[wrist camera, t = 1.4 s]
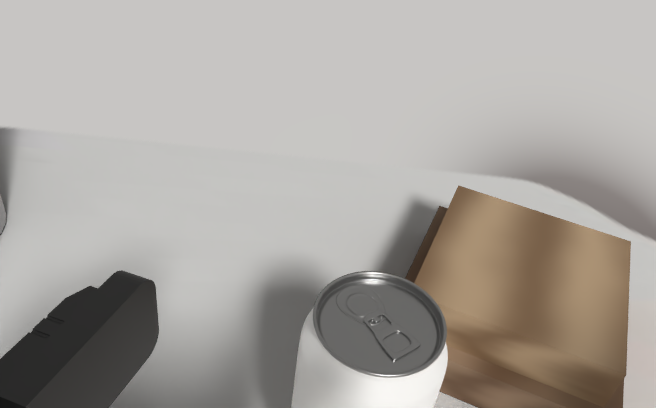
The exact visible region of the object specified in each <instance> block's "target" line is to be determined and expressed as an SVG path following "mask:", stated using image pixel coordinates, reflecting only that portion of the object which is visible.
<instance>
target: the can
mask: <svg viewBox="0 0 656 408" xmlns="http://www.w3.org/2000/svg"><path fill="white" fill-rule="evenodd" d="M446 338H447V326H446V321H445V318H444V315H443V313H442V311H441V309H440V307H439V306H438V304H437V303H436V302H435V300H434V299H433V298H432V297H431V296H430V295H429V294H428V293H427V292H426V291H424V290H423V289H422V288H421V287H419V286H418V285H416V284H414V283H413V282H411V281H409V280H407V279H405V278H402V277H399V276H397V275H393V274H389V273H384V272H377V271H362V272H355V273H351V274H347V275H344V276H342V277H339V278H337V279H336V280H334V281H332V282H331V283H330V284H328V285H327V286H326V287H325V288H324V289H323V290H322V291H321V293H320V294H319V296H318V297H317V299H316V302H315V305H314V307H313V309H312V310H311V311H310V313H309V314H308V316H307V317H306V319H305V322H304V324H303V327H302V331H301V335H300V341H299V348H298V355H297V363H296V371H295V380H294V388H293V396H292V405H291V408H433V407H434V404H435V402H436V399H437V396H438V393H439V391H440V388H441V385H442V382H443V379H444V376H445V373H446V368H447V362H448V351H447V345H446Z"/></svg>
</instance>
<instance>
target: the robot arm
mask: <svg viewBox="0 0 656 408" xmlns="http://www.w3.org/2000/svg"><path fill="white" fill-rule="evenodd" d="M5 224H6V212H5V208H4V205H3V201H2V198H1V194H0V234H1V232H2V230H3V228H4V226H5ZM158 333H159V326H158V313H157V300H156V288H155V284H154V282H153V281H152V280H149V279H146V278H143V277H140V276H137V275H134V274H131V273H128V272H125V271H117V272H116V273H114V274H113V275H112V276H111V277H110V278H109V279H108V280H107V281H105V282H104V283H103V284H102V285H101V286H100V287H99V288H95V287H92V286H89V287H87V288H85V289H83V290H81V291H79V292H77V293H75V294H73V295H71V296H69V297H67V298H65V299H64V300H63V301H62V302H61V303H60V304H59V305H58V306H57V307H56V308H55V309H54V310H53V311H51V312H50V313H49V314H48V317H47V318H46V319H45V318H44V319H43V320H42V321H41V322H40V323H39V324H37V325H36V326H35V327H34V328H33V331H32V332H31V333H28V334H27V335H26V336H25V337H23V338H22V339H21V340H20V341H19V342H18V343H17V344H16V345H15V346H14V347H13V348H12V349H11V350H10V351H8V352H7V353H6V354H5V355H4V356H3V357H2V358H1V359H0V408H109V407H110V405H111V404H112V403H113V401H114V400H115V399H116V398H117V396H118V395H119V394H120V393H121V391H122V390H123V389H124V388H125V386H126V385H127V384H128V383H129V381H130V380H131V379H132V378H133V376H134V375H135V374H136V373H137V371H138V370H139V369H140V368H141V366H142V365H143V364H144V363H145V361H146V360H147V359H148V358H149V356H150V355H151V353H152V351H153V349H154V347H155V345H156V342H157V338H158Z"/></svg>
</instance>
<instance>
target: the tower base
mask: <svg viewBox="0 0 656 408" xmlns="http://www.w3.org/2000/svg"><path fill="white" fill-rule="evenodd" d="M630 247H631V242H630V241H627V240H624V239H621V238H618V237H615V236H612V235H609V234H606V233H603V232H600V231H597V230H593V229H590V228H587V227H584V226H581V225H578V224H575V223H572V222H569V221H566V220H563V219H560V218H557V217H553V216H550V215H547V214H544V213H541V212H538V211H535V210H532V209H529V208H526V207H523V206H520V205H517V204H514V203H510V202H507V201H504V200H501V199H498V198H495V197H492V196H489V195H486V194H483V193H480V192H477V191H474V190H470V189H467V188H464V187H461V186H458V188H457V190H456V192H455V194H454V197H453V199H452V201H451V203H450V205H449V208H448V209H447V208H444V207H442V206H439V208H438V211H437V213H436V215H435V217H434V219H433V221H432V223H431V225H430V227H429V229H428V231H427V234H426V236H425V238H424V240H423V242H422V244H421V246H420V248H419V250H418V252H417V255H416V257H415V259H414V261H413V263H412V265H411V267H410V269H409V271H408V273H407V276H406V278H405V279H407V280H409V281H411V282H413V283H414V284H416V285H418V286H419V287H421V288H422V289H423V290H424V291H426V292H427V293H428V294H429V295H430V296H431V297H432V298H433V299H434V300H435V302H436V303H437V304H438V306H439V307H440V309H441V311H442V313H443V315H444V318H445V321H446V326H447V338H446V345H447V351H448V362H447V368H446V373H445V376H444V379H443V382H442V385H441V388H440V392H442V393H445V394H447V395H450V396H452V397H454V398H457V399H459V400H462V401H464V402H466V403H469V404H471V405H474V406H476V407H478V408H623V388H624V377H625V376H626V362H627V333H628V304H629V276H630Z"/></svg>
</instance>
